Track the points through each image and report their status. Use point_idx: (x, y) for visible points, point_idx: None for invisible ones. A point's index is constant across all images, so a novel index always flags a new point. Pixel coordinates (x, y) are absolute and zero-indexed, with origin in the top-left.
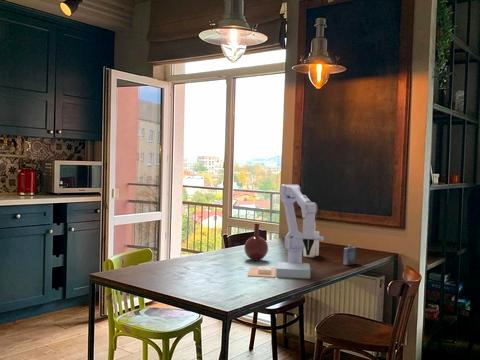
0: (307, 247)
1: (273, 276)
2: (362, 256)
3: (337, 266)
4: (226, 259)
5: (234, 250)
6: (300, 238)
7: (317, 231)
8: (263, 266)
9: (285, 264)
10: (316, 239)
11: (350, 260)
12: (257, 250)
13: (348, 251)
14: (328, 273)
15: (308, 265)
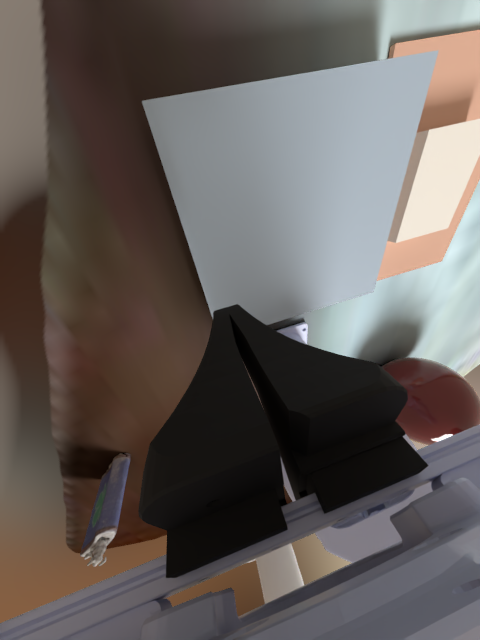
0: (256, 344)
1: (404, 49)
2: (126, 517)
3: (136, 430)
4: (459, 335)
5: None
6: (477, 467)
7: (251, 561)
8: (431, 226)
9: (342, 254)
10: (106, 616)
11: (107, 481)
12: (428, 375)
13: (98, 522)
14: (111, 325)
15: (211, 292)
